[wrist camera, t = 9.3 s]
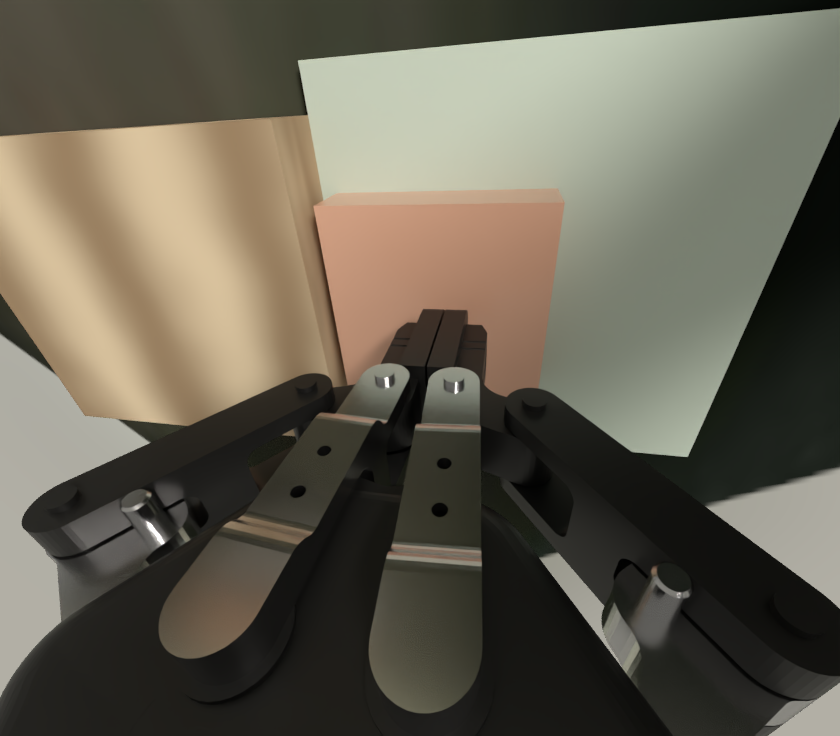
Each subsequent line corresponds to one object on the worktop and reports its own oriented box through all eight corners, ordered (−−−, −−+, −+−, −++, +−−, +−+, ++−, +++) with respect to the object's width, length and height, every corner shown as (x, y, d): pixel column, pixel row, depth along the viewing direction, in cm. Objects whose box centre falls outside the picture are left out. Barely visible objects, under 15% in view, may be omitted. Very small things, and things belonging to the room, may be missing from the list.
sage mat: (879, 6, 10) (891, 3, 10) (684, 450, 19) (687, 457, 19) (303, 61, 13) (298, 60, 13) (367, 422, 22) (364, 427, 22)
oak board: (312, 115, 14) (270, 118, 12) (363, 401, 21) (343, 441, 19) (-15, 136, 17) (-103, 143, 14) (128, 383, 24) (84, 415, 22)
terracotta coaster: (557, 188, 14) (564, 202, 12) (533, 379, 18) (535, 410, 16) (336, 192, 15) (313, 206, 13) (364, 368, 19) (349, 395, 18)
